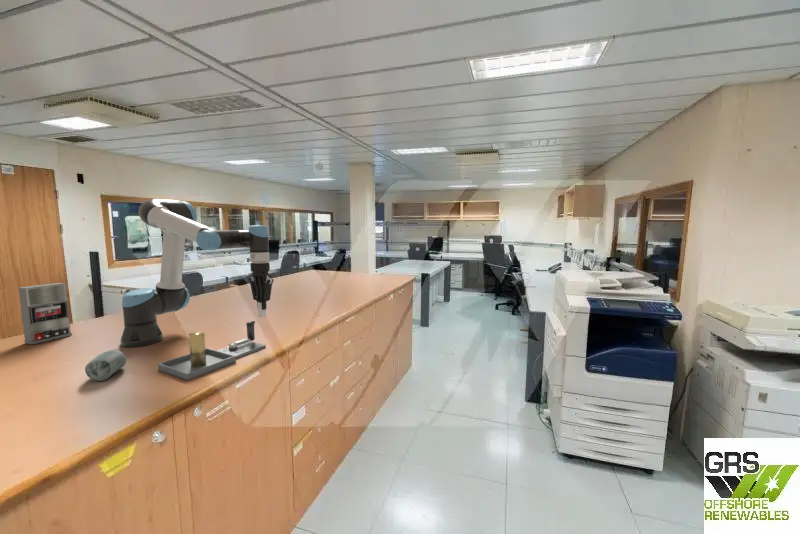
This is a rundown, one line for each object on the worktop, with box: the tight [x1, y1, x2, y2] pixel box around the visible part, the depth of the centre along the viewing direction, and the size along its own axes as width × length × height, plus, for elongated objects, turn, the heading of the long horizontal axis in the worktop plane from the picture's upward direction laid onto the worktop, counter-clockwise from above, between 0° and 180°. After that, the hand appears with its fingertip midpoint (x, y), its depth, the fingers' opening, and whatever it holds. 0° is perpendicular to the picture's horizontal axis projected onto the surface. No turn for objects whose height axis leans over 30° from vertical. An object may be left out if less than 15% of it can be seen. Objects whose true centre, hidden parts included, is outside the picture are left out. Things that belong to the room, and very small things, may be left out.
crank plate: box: [217, 341, 267, 360], centre depth 142 cm, size 12×16×1 cm
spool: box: [84, 349, 127, 382], centre depth 118 cm, size 14×10×10 cm
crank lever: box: [228, 320, 256, 350], centre depth 145 cm, size 13×3×9 cm, turn 153°
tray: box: [157, 347, 237, 382], centre depth 126 cm, size 18×19×2 cm
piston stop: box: [188, 331, 206, 367], centre depth 126 cm, size 5×5×12 cm
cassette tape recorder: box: [18, 282, 73, 345], centre depth 152 cm, size 14×6×25 cm, turn 160°
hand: (262, 316), depth 144 cm, fingers closed
